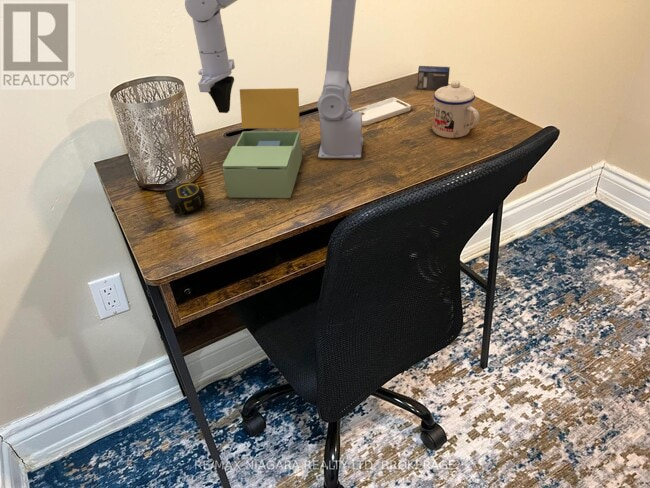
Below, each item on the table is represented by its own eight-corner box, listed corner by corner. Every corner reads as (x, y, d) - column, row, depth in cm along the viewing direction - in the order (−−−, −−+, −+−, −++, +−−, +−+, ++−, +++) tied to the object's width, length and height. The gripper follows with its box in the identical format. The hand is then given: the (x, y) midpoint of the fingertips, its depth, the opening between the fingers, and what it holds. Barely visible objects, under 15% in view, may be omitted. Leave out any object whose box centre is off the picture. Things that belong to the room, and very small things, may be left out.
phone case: (364, 126, 126) (411, 110, 132) (364, 121, 126) (412, 105, 131) (347, 116, 131) (393, 101, 137) (347, 111, 131) (394, 96, 137)
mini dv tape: (417, 89, 143) (418, 67, 139) (417, 87, 144) (419, 65, 141) (447, 90, 141) (449, 68, 138) (447, 88, 142) (449, 66, 139)
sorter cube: (279, 171, 111) (276, 151, 108) (257, 171, 111) (254, 151, 108) (283, 160, 114) (280, 140, 111) (262, 160, 115) (259, 140, 112)
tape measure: (167, 203, 104) (162, 187, 101) (200, 193, 106) (196, 177, 104) (176, 220, 99) (171, 203, 97) (210, 209, 101) (206, 193, 99)
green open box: (246, 157, 117) (241, 127, 113) (302, 157, 116) (299, 127, 111) (228, 197, 104) (221, 166, 100) (290, 198, 103) (286, 166, 98)
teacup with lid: (423, 129, 123) (426, 81, 116) (450, 118, 127) (454, 71, 120) (461, 147, 115) (466, 97, 108) (488, 135, 119) (496, 85, 112)
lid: (242, 128, 113) (242, 128, 113) (299, 128, 111) (299, 128, 112) (239, 89, 110) (240, 89, 111) (298, 88, 109) (298, 88, 109)
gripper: (209, 38, 113) (220, 98, 121) (179, 60, 102) (193, 124, 110) (239, 38, 112) (248, 99, 120) (212, 61, 101) (224, 126, 109)
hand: (224, 111), depth 115 cm, fingers closed
